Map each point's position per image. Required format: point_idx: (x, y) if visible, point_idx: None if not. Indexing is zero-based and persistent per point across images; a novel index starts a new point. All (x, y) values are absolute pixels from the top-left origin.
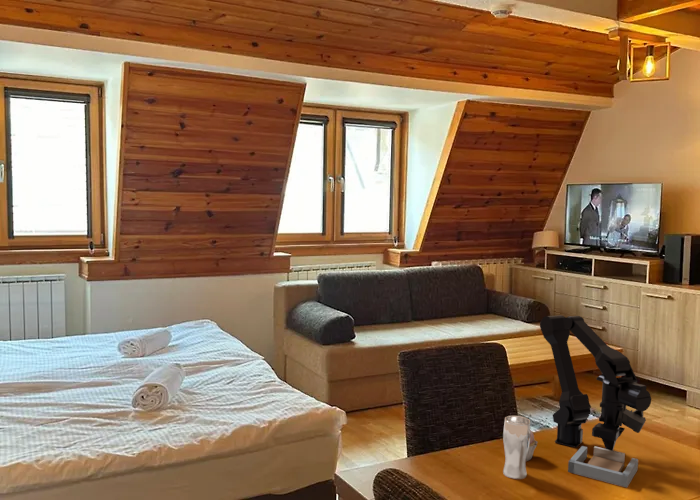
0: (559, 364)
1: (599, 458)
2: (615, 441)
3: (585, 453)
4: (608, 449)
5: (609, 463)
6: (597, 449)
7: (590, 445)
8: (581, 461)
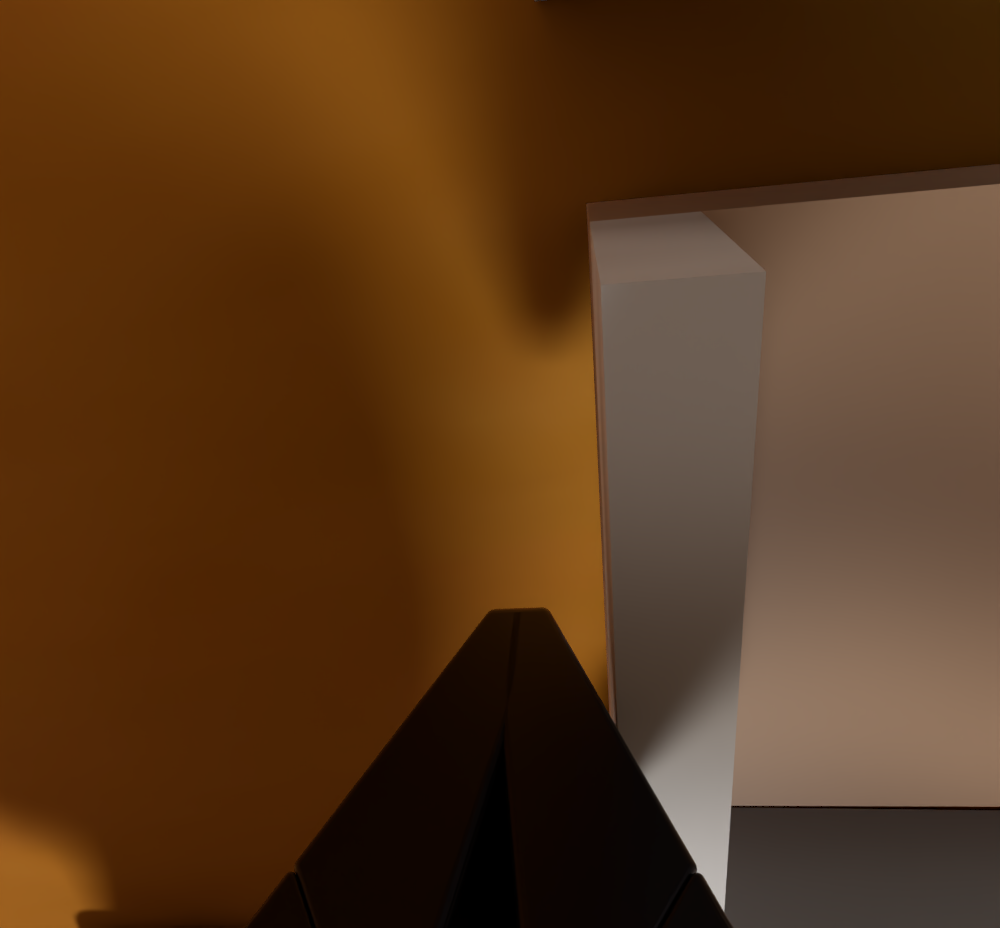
0: None
1: (779, 706)
2: (396, 919)
3: None
4: None
5: (979, 491)
6: None
7: (86, 848)
8: (949, 849)
